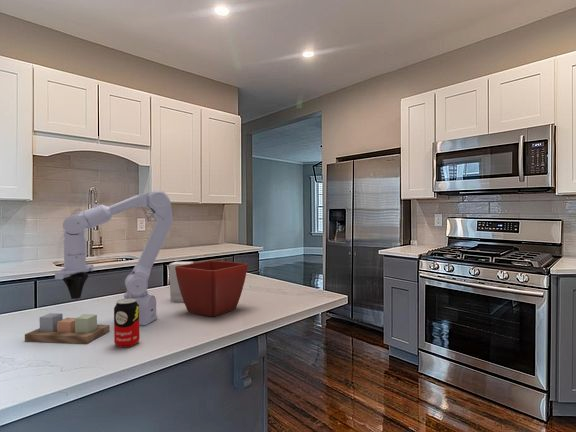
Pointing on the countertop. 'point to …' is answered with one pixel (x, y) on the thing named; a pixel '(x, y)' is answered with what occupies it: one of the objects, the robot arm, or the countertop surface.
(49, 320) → the slate block
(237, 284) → the plant pot
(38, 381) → the countertop surface
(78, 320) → the sage block
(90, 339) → the board
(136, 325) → the beverage can
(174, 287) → the skincare box
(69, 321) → the terracotta block
